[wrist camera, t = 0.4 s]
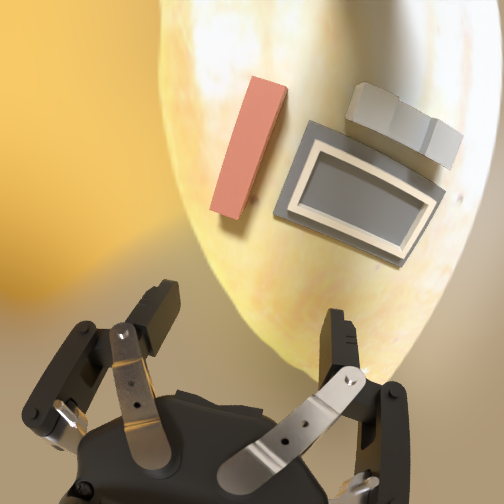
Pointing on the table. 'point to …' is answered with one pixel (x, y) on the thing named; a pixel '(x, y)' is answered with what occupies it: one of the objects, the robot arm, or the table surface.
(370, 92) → the stepped grey block
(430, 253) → the table surface
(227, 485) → the robot arm
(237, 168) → the pink rectangular brick
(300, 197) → the jig
